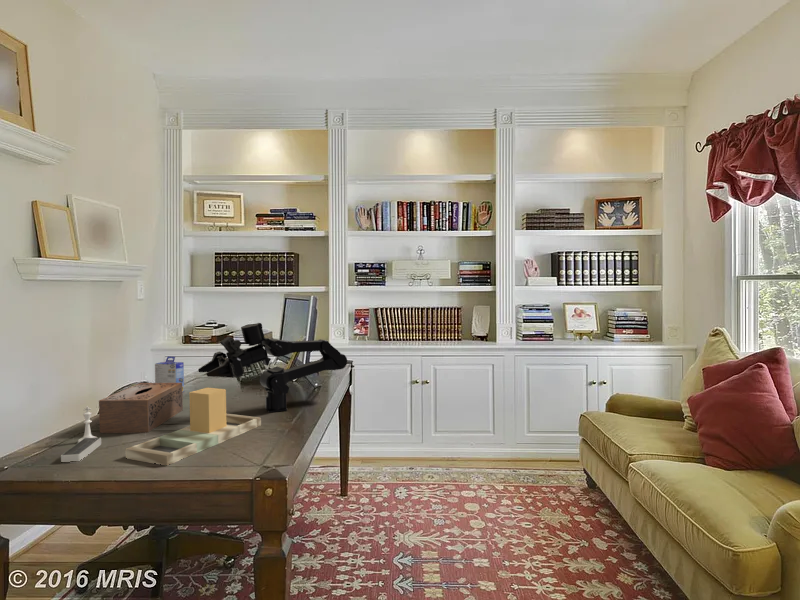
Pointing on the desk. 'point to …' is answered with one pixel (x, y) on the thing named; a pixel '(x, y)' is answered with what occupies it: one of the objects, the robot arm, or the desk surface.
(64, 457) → the multiport hub
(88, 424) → the chess piece
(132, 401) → the tissue box cover
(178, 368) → the ink cartridge box
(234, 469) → the desk surface
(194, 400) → the ochre block
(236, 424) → the trap board
